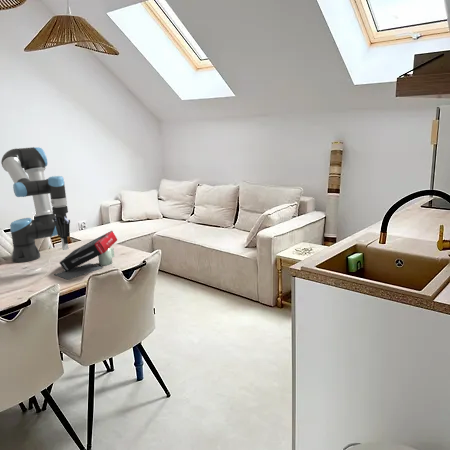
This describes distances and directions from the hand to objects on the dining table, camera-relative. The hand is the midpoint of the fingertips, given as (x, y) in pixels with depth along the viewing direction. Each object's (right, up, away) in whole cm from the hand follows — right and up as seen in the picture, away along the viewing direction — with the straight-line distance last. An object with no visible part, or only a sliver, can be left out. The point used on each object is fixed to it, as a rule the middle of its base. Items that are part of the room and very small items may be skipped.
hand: (65, 249), depth 226 cm
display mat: (+8, -11, -3) cm, 14 cm away
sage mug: (+20, -8, +8) cm, 23 cm away
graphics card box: (+1, -6, +2) cm, 7 cm away
